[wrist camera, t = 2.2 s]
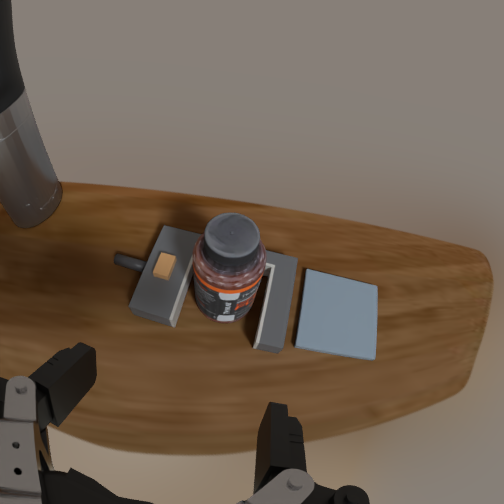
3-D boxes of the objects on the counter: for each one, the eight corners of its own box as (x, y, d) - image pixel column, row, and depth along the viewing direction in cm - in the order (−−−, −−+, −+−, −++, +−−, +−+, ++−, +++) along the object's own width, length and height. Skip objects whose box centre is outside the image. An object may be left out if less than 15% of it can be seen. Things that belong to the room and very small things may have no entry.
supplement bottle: (239, 334, 28) (255, 285, 19) (185, 310, 29) (173, 249, 19) (261, 285, 31) (284, 219, 22) (211, 264, 32) (212, 192, 22)
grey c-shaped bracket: (101, 302, 28) (92, 290, 25) (136, 229, 33) (131, 213, 31) (278, 353, 27) (285, 346, 25) (292, 268, 33) (299, 254, 30)
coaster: (294, 347, 28) (295, 345, 28) (305, 271, 33) (306, 268, 32) (372, 360, 28) (375, 359, 27) (375, 288, 33) (377, 286, 32)
